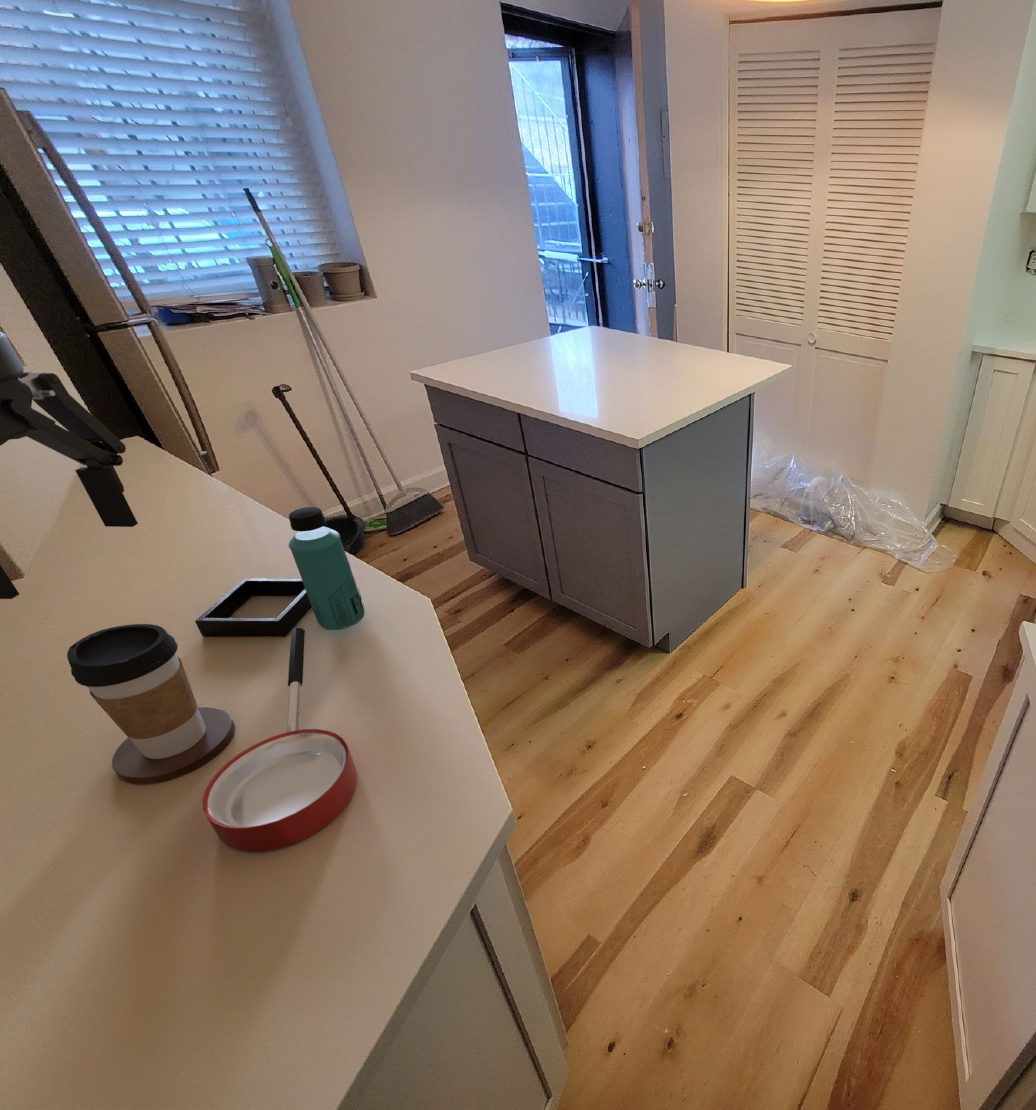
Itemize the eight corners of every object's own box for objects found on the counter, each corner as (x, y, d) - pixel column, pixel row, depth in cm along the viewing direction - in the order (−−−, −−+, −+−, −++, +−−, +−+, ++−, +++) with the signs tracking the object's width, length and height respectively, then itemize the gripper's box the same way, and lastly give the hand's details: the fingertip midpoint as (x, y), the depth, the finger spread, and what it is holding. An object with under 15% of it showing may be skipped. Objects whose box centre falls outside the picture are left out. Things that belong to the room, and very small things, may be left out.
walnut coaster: (89, 785, 68) (84, 778, 67) (162, 713, 77) (158, 707, 77) (195, 783, 69) (191, 776, 68) (254, 712, 78) (251, 706, 78)
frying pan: (231, 683, 82) (213, 646, 79) (342, 653, 89) (330, 618, 86) (213, 877, 60) (187, 837, 57) (364, 819, 66) (348, 780, 63)
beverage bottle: (366, 634, 93) (328, 518, 83) (315, 642, 91) (271, 524, 80) (371, 610, 98) (336, 498, 88) (323, 617, 96) (282, 503, 86)
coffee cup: (148, 720, 75) (89, 623, 67) (230, 708, 77) (182, 613, 69) (111, 774, 68) (40, 673, 60) (202, 759, 70) (145, 660, 63)
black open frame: (202, 637, 90) (194, 621, 89) (250, 593, 100) (244, 578, 99) (285, 637, 91) (278, 621, 90) (324, 593, 101) (319, 578, 100)
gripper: (-211, 372, 38) (-18, 636, 49) (110, 309, 60) (195, 503, 70) (-349, 367, 38) (-123, 636, 48) (26, 305, 59) (125, 501, 70)
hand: (66, 557), depth 59 cm, fingers open, 13 cm apart
